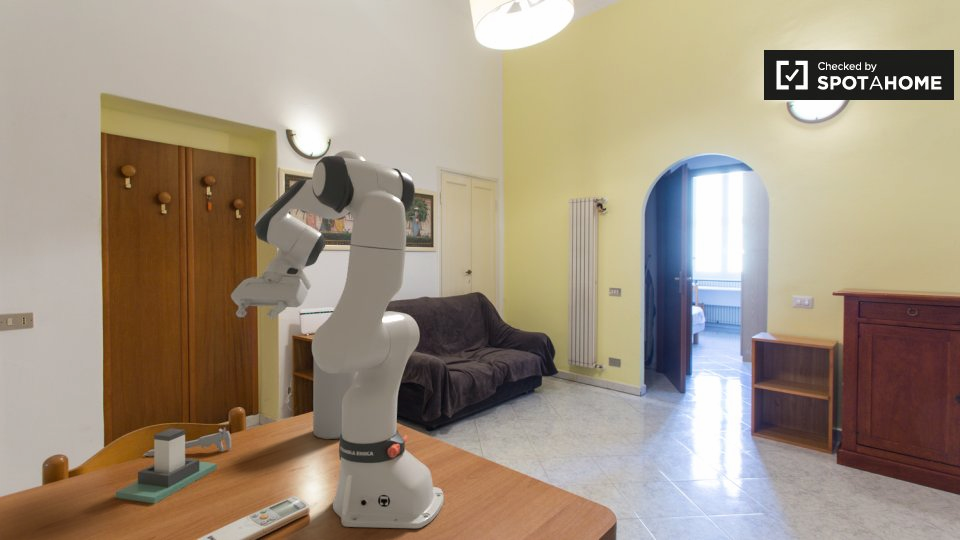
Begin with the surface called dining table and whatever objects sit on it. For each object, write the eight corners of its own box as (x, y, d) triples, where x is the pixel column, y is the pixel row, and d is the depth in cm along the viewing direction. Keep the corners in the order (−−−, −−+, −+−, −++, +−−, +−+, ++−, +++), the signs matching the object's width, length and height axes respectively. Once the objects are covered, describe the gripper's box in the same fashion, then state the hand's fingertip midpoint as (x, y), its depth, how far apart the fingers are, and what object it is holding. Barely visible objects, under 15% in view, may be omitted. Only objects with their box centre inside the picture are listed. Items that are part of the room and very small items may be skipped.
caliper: (231, 450, 118) (231, 426, 118) (229, 452, 117) (229, 428, 117) (144, 455, 114) (144, 431, 114) (142, 457, 113) (142, 433, 113)
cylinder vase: (314, 426, 135) (314, 343, 135) (357, 422, 139) (357, 342, 138) (311, 442, 123) (312, 351, 123) (358, 437, 127) (359, 349, 126)
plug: (185, 473, 102) (185, 429, 102) (169, 482, 98) (169, 436, 98) (170, 471, 103) (170, 428, 102) (154, 479, 99) (154, 434, 99)
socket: (216, 468, 107) (216, 453, 107) (154, 503, 91) (154, 485, 91) (182, 464, 109) (182, 449, 109) (115, 497, 93) (115, 479, 93)
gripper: (242, 269, 126) (214, 307, 116) (307, 270, 121) (283, 309, 112) (253, 284, 130) (227, 322, 121) (316, 286, 126) (294, 325, 116)
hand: (255, 316), depth 116 cm, fingers open, 8 cm apart
